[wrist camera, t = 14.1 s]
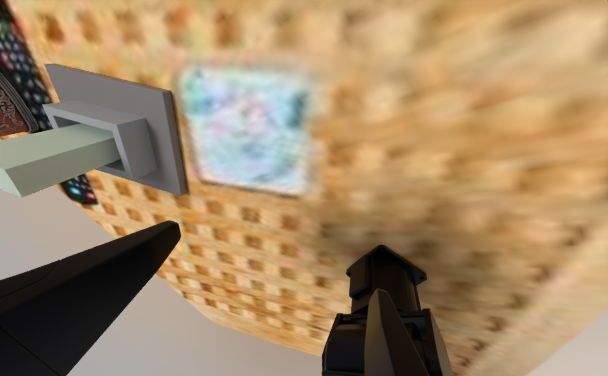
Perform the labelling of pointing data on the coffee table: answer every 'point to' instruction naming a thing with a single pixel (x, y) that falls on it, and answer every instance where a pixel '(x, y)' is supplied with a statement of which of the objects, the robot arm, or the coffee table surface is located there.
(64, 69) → the grey socket base
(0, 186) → the pale green rectangular block
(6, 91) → the lighter
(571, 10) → the coffee table surface
